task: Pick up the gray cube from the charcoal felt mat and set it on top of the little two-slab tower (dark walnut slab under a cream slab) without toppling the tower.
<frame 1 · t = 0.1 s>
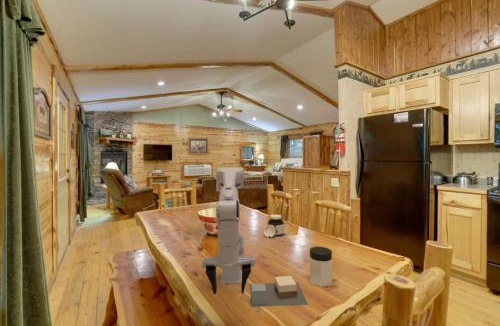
hand: (228, 291, 69), 10 cm above the table, tool pointing down, fingers open, 7 cm apart
jar: (320, 282, 94), on the table
walnut slab: (285, 293, 86), resting on felt mat, touching cream slab
gray cube: (258, 300, 81), resting on felt mat
spread jar: (274, 235, 150), on the table
cream slab: (285, 286, 86), point 3 cm above the table, touching walnut slab
felt mat: (276, 294, 85), on the table
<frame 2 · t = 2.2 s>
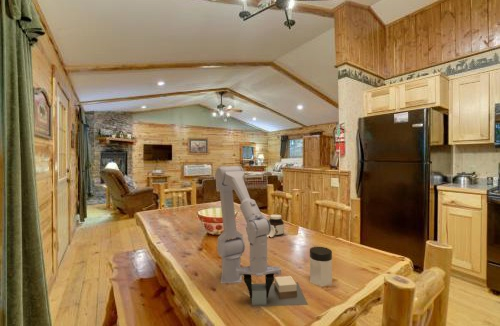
hand: (258, 296, 81), 2 cm above the table, tool pointing down, fingers closed on gray cube, 4 cm apart
gray cube: (258, 300, 81), resting on felt mat, touching gripper
everything else where it was.
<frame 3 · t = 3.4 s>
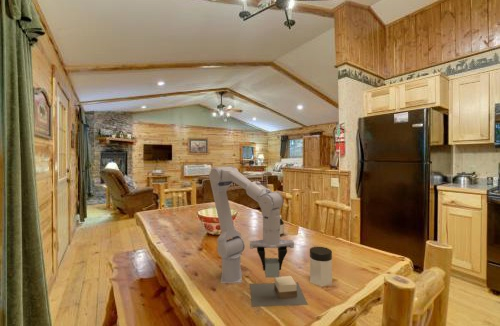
hand: (271, 269, 83), 10 cm above the table, tool pointing down, fingers closed on gray cube, 4 cm apart
gray cube: (271, 274, 83), point 8 cm above the table, touching gripper
everything else where it was.
when the fingers open (7 cm above the table, at t = 5.0 s): gray cube stays where it is, resting on cream slab.
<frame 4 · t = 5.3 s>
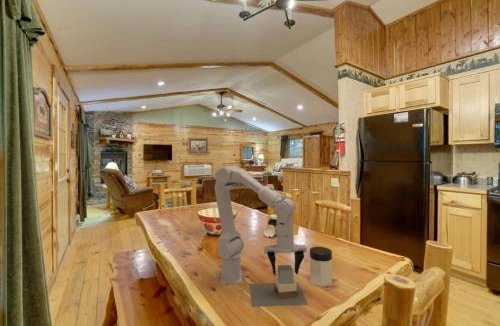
hand: (285, 273, 85), 7 cm above the table, tool pointing down, fingers open, 7 cm apart
gray cube: (285, 280, 85), point 5 cm above the table, touching cream slab
cream slab: (285, 286, 86), point 3 cm above the table, touching gray cube, walnut slab
everything else where it was.
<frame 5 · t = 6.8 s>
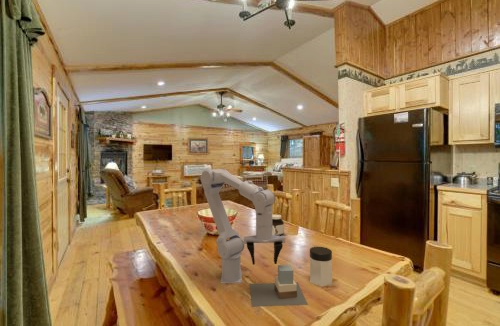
hand: (264, 263, 87), 10 cm above the table, tool pointing down, fingers open, 7 cm apart
nothing on the table moved.
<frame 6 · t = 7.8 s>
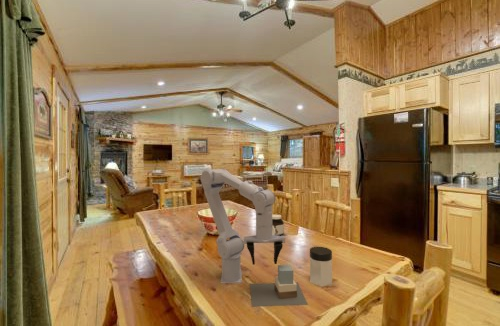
hand: (264, 263, 87), 10 cm above the table, tool pointing down, fingers open, 7 cm apart
nothing on the table moved.
at the end: gray cube 0.1 cm off-centre on the walnut slab, point 4.4 cm above the walnut slab's base; cream slab 0.0 cm off-centre on the walnut slab, point 2.2 cm above the walnut slab's base; gray cube tilted 0° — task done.
